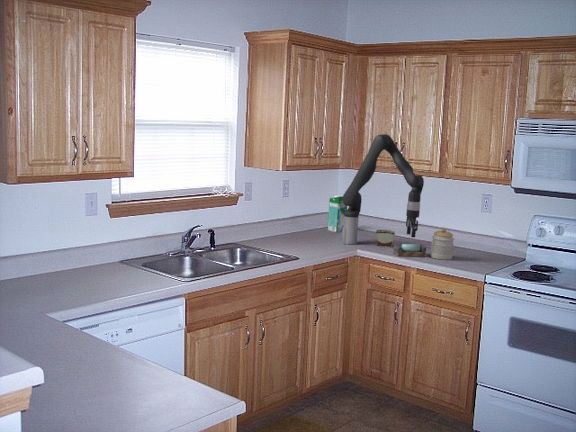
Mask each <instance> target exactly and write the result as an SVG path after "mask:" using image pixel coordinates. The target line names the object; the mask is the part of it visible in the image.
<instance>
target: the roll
mask: <svg viewBox="0 0 576 432" xmlns="http://www.w3.org/2000/svg"><path fill="white" fill-rule="evenodd" d="M420 245H421V244H415V243H408V244H406V243H402V244H401V245H400V246H401V247H402V252H420Z"/></svg>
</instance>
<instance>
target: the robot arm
mask: <svg viewBox="0 0 576 432" xmlns="http://www.w3.org/2000/svg"><path fill="white" fill-rule="evenodd" d="M384 150H385V151H386V152H387V153H388V154H389V156H390V157H391V158H392V161H393V163H394V166H395V167H396V168H397V170H398V171H399V172H400V173H401V175H402V176H403V177H404V180H405V182H406V183H407V185H409V187H411V190H410V191H409V192H408V198H407V204H406V214H405V215H406V219H405V220H406V222H405V227H406V235H411V238H416V233H417V231H418V229H419V220H417V218H420V210H421V195H422V192H423V188H424V185H425V184H424V183H425V180H424V179H425V178H424V177H423V176H422V175H420V174H415V172H414V168H413V167H412V165H411V164H410V163H409V162H408V160H407V159H406V158H405V157H404V155H403V154H402V153H401V151H400V149H399V148H398V147H397V145H396V143H395V141H394V139H393V138H392V137H391V135H389V134H387V133H386V134H385V133H383V134H382V133H381V134H378V135H376V136H374V138H373V139H372V141H371V144H370V147H369V149H368V152H367V153H366V156H365V157H364V159H363V161H362V163H361V165H360V166H359V169H358V170H357V172H356V174H355V176H354V178H353V179H352V181H351V183H350V185H349V186H348V187H347V189H346V190H345V191H344V194H343V195H342V196H343V203H344V205H346V206H347V210H346V211H345V212H344V225H343V228H342V232H341V244H343V245H344V244H345V245H357V244H358V230H359V215H360V213H361V210H362V209H361V207H362V194H361V193H360V192H359V191H361V189H362V188H363V187H364V186H365V185H366V184H367V183H369V181H371V179H372V177H373V175H374V173H375V172H376V169H377V162H378V159H379V157H380V155H381V154H382V152H383V151H384Z"/></svg>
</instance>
